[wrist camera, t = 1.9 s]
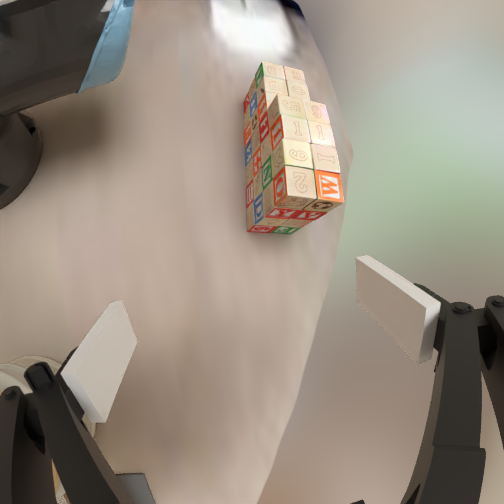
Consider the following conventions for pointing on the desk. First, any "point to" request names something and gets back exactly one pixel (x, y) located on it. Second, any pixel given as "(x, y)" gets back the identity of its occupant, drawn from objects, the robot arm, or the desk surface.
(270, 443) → the desk surface
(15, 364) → the jar
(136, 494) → the tipping stop
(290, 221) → the stack of blocks
